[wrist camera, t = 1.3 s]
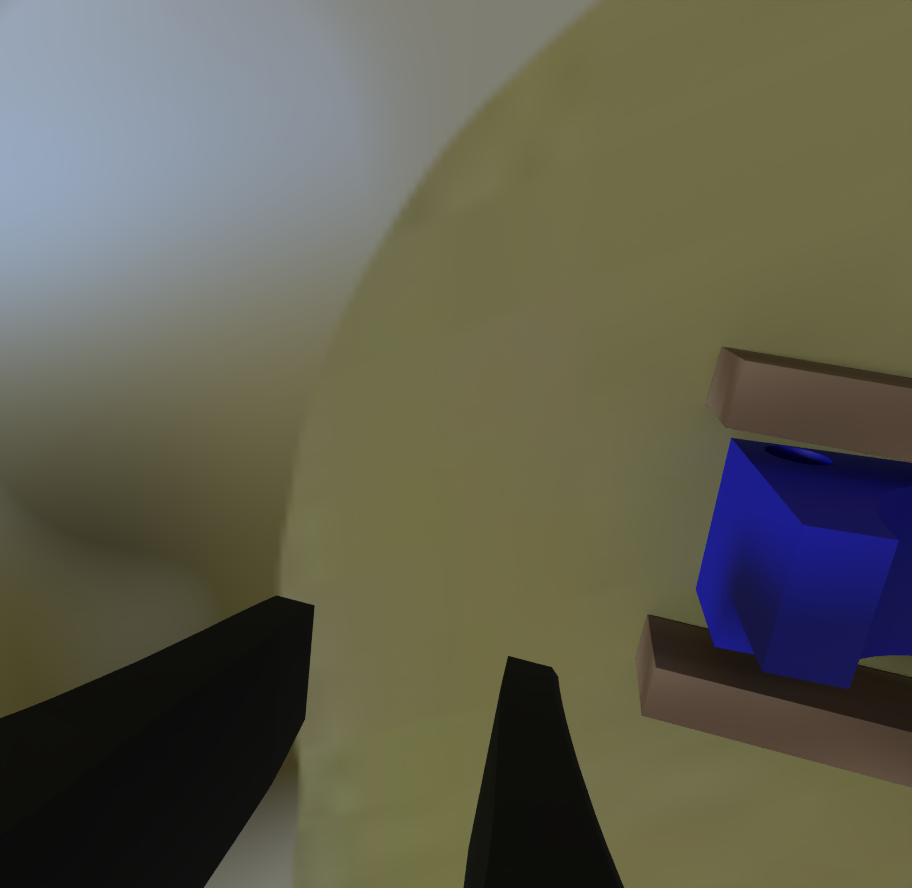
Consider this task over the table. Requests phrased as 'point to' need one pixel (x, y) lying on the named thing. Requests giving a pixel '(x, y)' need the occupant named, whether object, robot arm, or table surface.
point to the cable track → (737, 673)
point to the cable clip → (809, 560)
